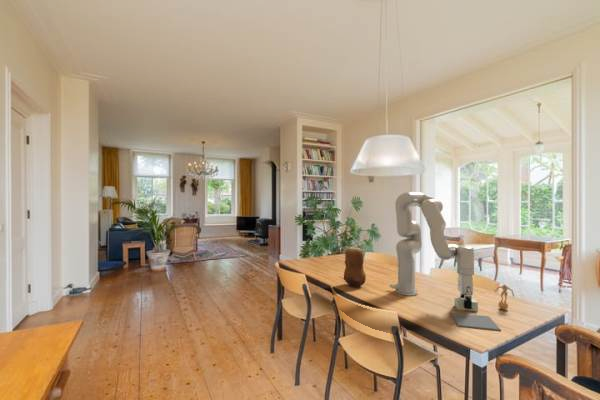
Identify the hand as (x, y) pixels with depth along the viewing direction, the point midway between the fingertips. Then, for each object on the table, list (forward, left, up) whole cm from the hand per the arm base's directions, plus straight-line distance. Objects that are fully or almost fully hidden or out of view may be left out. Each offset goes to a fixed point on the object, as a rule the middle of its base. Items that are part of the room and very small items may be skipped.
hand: (465, 305), depth 142 cm
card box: (0, 0, -2) cm, 2 cm away
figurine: (+18, +4, -1) cm, 18 cm away
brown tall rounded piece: (-58, +23, -1) cm, 62 cm away
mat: (-1, -17, -1) cm, 17 cm away
